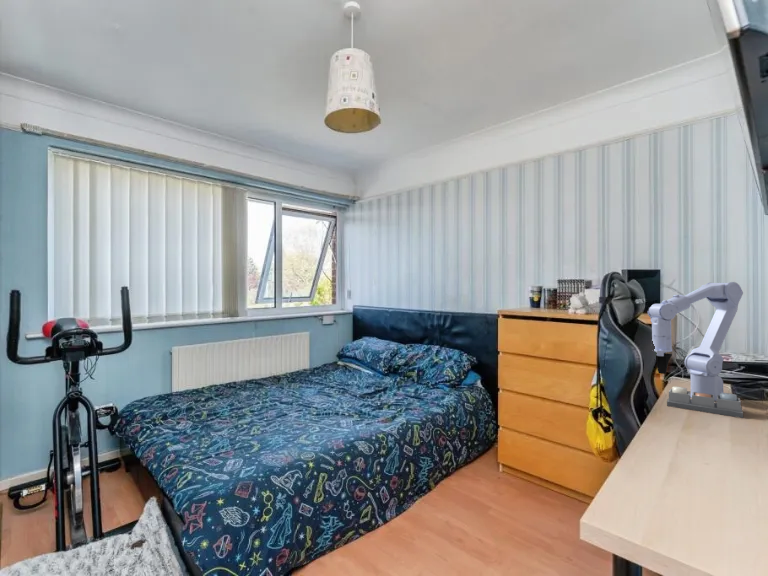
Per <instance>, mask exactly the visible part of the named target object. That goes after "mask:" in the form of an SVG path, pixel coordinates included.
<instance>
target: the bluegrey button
mask: <svg viewBox="0 0 768 576" xmlns="http://www.w3.org/2000/svg"><path fill="white" fill-rule="evenodd" d="M737 398H738V395H737V394H735V393H728V392H723V393H720V399H724V400H732V401H737Z"/></svg>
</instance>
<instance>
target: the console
mask: <svg viewBox="0 0 768 576" xmlns="http://www.w3.org/2000/svg"><path fill="white" fill-rule="evenodd" d="M695 393H698V392H693V393H692V398H691V395H690V394H691V390H690V391H689V390H687V394H681V393H674V392H672V388H670V389H669V391H668V399H667V401H666V406H667V407H672V408H679V409H683V410H684V409H685V410H690V411H691V410H692V411H695V412H696V411H697V412H703V413H704V412H705V413H709V414H715V415H723V416H728V417H734V418H741V419H744V412H743V408H742V406H741V405H742V402H741V398H740V397H737V401H732V400H724V399H720V395H717V401H716V402H715V401H714V395H712V394H710V395H711V398H710V397H703V396H696V395H695Z"/></svg>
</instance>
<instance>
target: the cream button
mask: <svg viewBox="0 0 768 576" xmlns="http://www.w3.org/2000/svg"><path fill="white" fill-rule="evenodd" d="M671 389H672V392H674V393H681V394H687V391H688V388H686V387H683V386H672V387H671Z"/></svg>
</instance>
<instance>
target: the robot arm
mask: <svg viewBox="0 0 768 576" xmlns="http://www.w3.org/2000/svg"><path fill="white" fill-rule="evenodd" d="M743 295H744V292H743V289H742V287H741V286H740V284H739V283H737V282H735V281H729V282H707V283H705V284H701V286H699V287H698V288H697V289H695V290H693V291H691V292H689V293H686V294H685V295H683V294H673V295H672V297H671V298H668V299H664V300H662V301H661V302H660V303H653V304H652V305H651V306H650V307H648V310H647V316H649V318H650V322H651V338H652V339H651V342H652V341H653V344H654V346H655V349H654V351H653V352H654V353H657V354H656V362H657V365H656V369H657V373H658V374H663V375H667V370H668V365H669V363H670V359H671V358H672V356H673V354H672V353H670V352H673V348H672V347H673V346H672V345H673V344H672V342H673V341H672V340H673V339H672V337H673V336H672V320H674V319H675V317H676V315H677V314H679V313H681V312H683V311H685V310H688V309H690V307H691V305H692V304H694V303H696V302H699V301H700V300H703V299H706V300H707V301H708V302H709V303H710V304H711V305H712V306H713V307H714V308H715V312H714V314H713V316H712V318H711V321H710V322H709V325H708V327H707V330H706V332H705V334H704V336H703V338H702V341H701V343H700V344H699V346H698V347H695V348H693V349H692V350H691V351H690V353H689V354H688V355H687V356H686V357H685V359H684V367H685V369H687V370H688V372H689V374H690V395H691V399H692V393H693V392H698V393H706V394H712V395H714V402H717V395H720V393H724V380H723V379H722V377H721V376H719V374H721V373H722V371H723V362H724V357H723V355H722V354H721V353H719V352H720V350H721V348H722V345H723V343H724V342H725V341H724V340H725V339H726V336H727V335H728V332H729V330H730V328H731V325H732V323H733V321H734V319H735V316H736V314H737V312H738V307H739V304H740V302H741V298H742V297H743ZM656 362H655V363H656Z"/></svg>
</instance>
